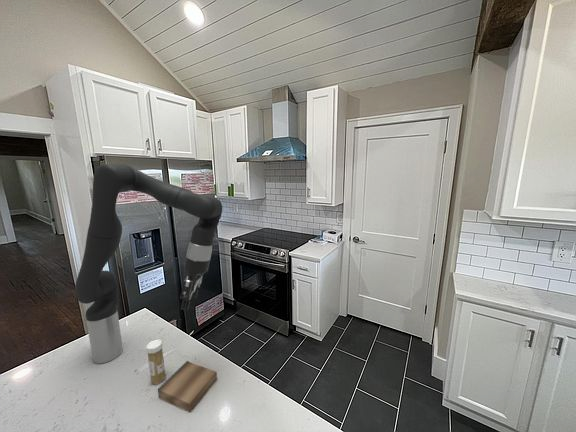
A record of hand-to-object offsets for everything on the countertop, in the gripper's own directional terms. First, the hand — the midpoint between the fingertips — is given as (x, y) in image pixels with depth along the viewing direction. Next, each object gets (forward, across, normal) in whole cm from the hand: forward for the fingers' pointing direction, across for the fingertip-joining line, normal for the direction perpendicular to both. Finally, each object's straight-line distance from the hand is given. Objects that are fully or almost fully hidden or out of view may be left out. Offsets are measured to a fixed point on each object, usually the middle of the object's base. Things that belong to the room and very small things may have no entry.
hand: (188, 303), depth 77 cm
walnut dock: (+26, +4, +7) cm, 27 cm away
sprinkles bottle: (+29, -1, -5) cm, 29 cm away
